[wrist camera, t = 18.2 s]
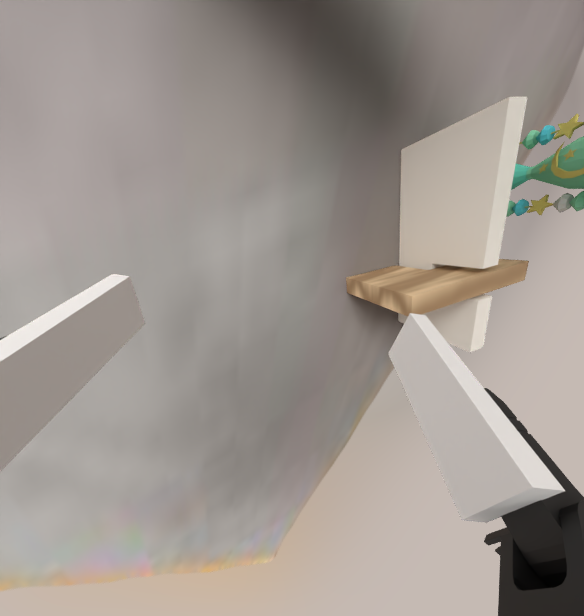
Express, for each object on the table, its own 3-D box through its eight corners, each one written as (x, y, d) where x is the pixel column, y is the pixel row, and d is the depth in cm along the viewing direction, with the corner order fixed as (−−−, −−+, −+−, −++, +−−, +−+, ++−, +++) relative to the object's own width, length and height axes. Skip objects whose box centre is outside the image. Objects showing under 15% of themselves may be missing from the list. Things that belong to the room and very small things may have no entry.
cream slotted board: (401, 149, 29) (509, 96, 19) (414, 148, 30) (527, 96, 19) (398, 321, 38) (470, 352, 28) (408, 317, 39) (483, 347, 28)
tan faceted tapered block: (346, 277, 32) (412, 296, 22) (436, 255, 37) (528, 260, 26) (347, 292, 33) (411, 317, 22) (435, 268, 38) (524, 279, 27)
